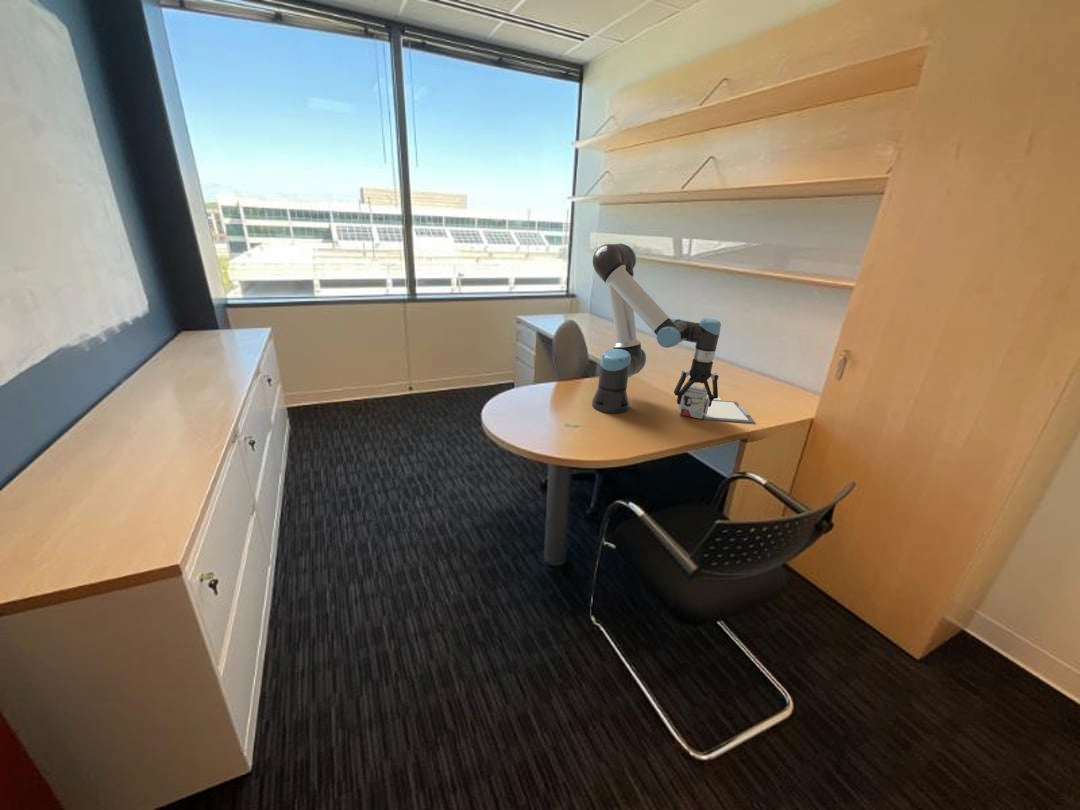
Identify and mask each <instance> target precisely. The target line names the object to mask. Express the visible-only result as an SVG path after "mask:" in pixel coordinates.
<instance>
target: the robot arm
mask: <svg viewBox="0 0 1080 810" xmlns="http://www.w3.org/2000/svg"><path fill="white" fill-rule="evenodd" d="M636 264H637V256H636V252H635V250H634V249H633V248H632V247H631V246H629V245H627V244H625V243H612V244H611V243H606V244H603V245H601V246H599V247H598V248H597V249H596V250H595V251H594V254H593V256H592V267H593V269H594V271H595V273H596V274H597V275H598V277H599V278H600V280H602V281H603V282H604V283H605V284H606V285H609V292H610V293H609V294H610V301H611V309H612V317H613V327H614V335H615V343H614V344H613V345H612V348H613V349H608V350H605V351H603V353H602V354H601V358H600V360H599V363H600V364H599V366H600V367H599V377H598V385H597V388H596V389H597V390H596V392H595V393H594V396H593V397H592V401H591V402H592V403H591V406H592V408H593V409H595V410H597V411H599V412H603V413H608V414H621V413H623V414H624V413H625V412H627V411H628V410H629V405H630V404H629V403H630V401H629V397H628V392H627V389H628V380H629V378H631V377H632V376H634V375H637V374H638V373H640V371H642V370H643V368H644V367H645V365H646V363H647V355H646V354H647V353H646V352H645V350H643V349H642V344H641V342H640V340H638V339H637V330H636V322H635V321H636V320H635V313H636V314H637V316H638V317H639V318H640V319H641V321H643V322H644V323H645V324H646V325H647V326H648V328H649V329H651V331H652V332H653V333H654V334H655V336H656V340H657V343H658V345H660V346H661V348H662V347H663V348H666V349H667V348H668V349H669V348H672V347H675V346H677V345H679V344H680V343H682V342H690V343H695V346H694V347H695V348H694V352H693V356H692V357H693V359H692V361H691V367H690V369H689V371H685V370H682V371H681V373H680V374H681V376H680V378H679V381H678V382H677V384H676V386H675V388H674V391H673V394H674V395H675V396H676V404H677V412H678V413H679V414H681V409H682V404H683V399H684V397H683V395H684V394H685V392H686V391H687V390H688V389H689V388H690V386H691V385H694V384H698V383H699V384H703V385H704V386H703V387H705V388H706V389H707V395H708V397H706V403H705V409H704V415H707V411H708V407H710V406H711V403H712V400H714V399H715V398H716V399H717V398H718V396H719V393H718V380H719V375H718V374H717V373H715V372H714V373H712V369H713V364H714V362H713V361H714V360H715V355H716V350H717V346H718V342H719V339H720V338H719V337H720V335H721V334H720V332H721V327H722V326H721V325H722V323H721V321H720V320H718V319H713V318H702V319H700V322H693V321H688V320H683V319H680V318H679V319H677V318H670V317H669V316H668V314H666V313H665V311H664V310H663V309H662V308H661V307H660V305H658V304H657V302H656V301H654V299H653V298H652V297H651V296H650V295H649V294H648V293H647V292H646V291H645V290H644V288H643V287H642V286H641V285H640V284H639V283H638V282H637V281H636V280H635V278H634V277H635V276H634V268H635V266H636ZM688 376H689V378H688ZM686 378H688V380H687V382H686V383H685V381H686ZM710 378H711V380H712V381H711V382H712V391H711V388H710V385H709V382H708V380H709V379H710ZM684 383H685V384H684Z"/></svg>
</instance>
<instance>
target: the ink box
mask: <svg viewBox="0 0 1080 810" xmlns="http://www.w3.org/2000/svg"><path fill="white" fill-rule="evenodd" d="M707 395H708V394H707V389H706V388H705V386H700V385H694V384H693V385H691V386H690V388H689V389H688V390H687V391H686V392H685V394H684V395H683V397H684V399H683V404H682V409H681V413H680V415H681V416H687V417H689V418H690V417H691V418H696V419H703V418H702V417H703V414H704V409H705V403H706V397H707Z"/></svg>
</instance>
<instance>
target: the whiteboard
mask: <svg viewBox="0 0 1080 810" xmlns="http://www.w3.org/2000/svg"><path fill="white" fill-rule="evenodd" d="M702 419H703V420H704V421H710V422H711V421H713V422H714V421H715V422H726V423H727V422H728V423H739V424H740V423H742V424H752V423H755V424H756V421H755V420H754V419H753V418H752V417H751V416H750V414H749V413H748V412H747V410H745V408H744V407H743V406H742V405H740V404H739V403H738V402H737V401H731V400H722V401H719V400H712V403H711V406H710V407H708V411H707V415H704V414H703V417H702Z"/></svg>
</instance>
